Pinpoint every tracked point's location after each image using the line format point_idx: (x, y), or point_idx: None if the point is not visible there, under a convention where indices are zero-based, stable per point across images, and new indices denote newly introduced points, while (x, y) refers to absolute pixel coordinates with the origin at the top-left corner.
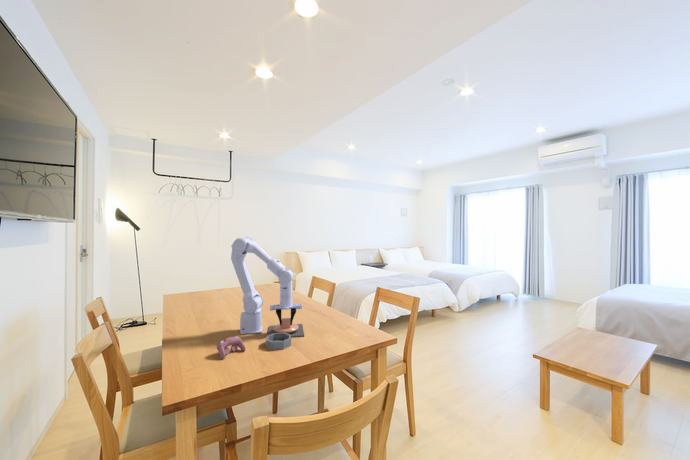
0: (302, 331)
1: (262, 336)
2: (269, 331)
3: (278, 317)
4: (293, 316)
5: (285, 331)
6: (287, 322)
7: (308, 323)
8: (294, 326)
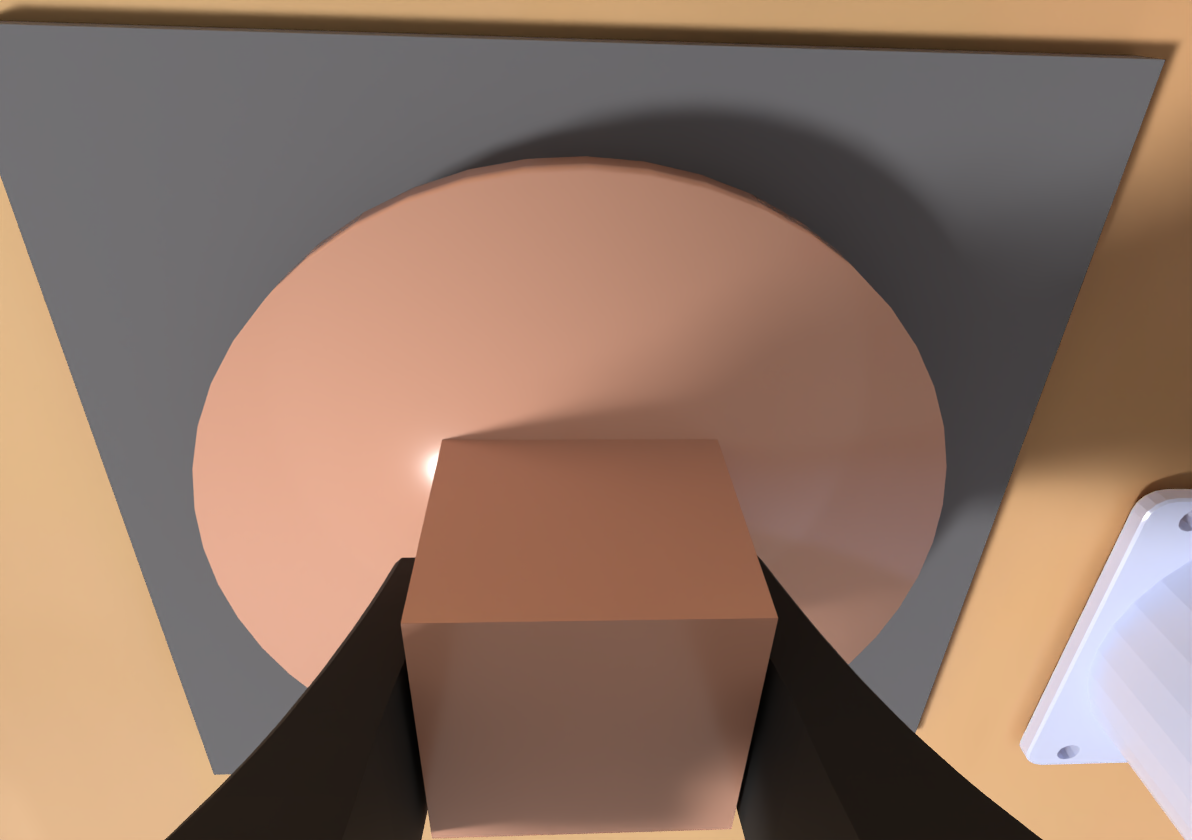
0: (98, 359)
1: (1183, 285)
2: (977, 491)
3: (958, 781)
4: (215, 809)
5: (606, 173)
6: (532, 570)
7: (103, 800)
8: (327, 548)
